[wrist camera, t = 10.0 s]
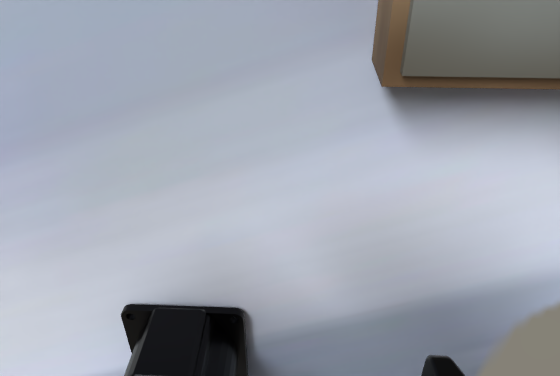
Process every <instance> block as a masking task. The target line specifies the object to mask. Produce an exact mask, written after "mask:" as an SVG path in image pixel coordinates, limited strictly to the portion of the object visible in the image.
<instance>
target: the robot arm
mask: <svg viewBox="0 0 560 376" xmlns="http://www.w3.org/2000/svg"><path fill="white" fill-rule="evenodd" d="M121 317H122V321H123V324H124V328H125V331H126V335H127V338H128V342H129V345H130V349H131V352H132V355H131V358H130V361H129V364H128V366H127V369H126V372H125V375H124V376H248V365H247V349H246V334H245V319H244V312H243V311H242V310H240V309H238V308H224V307H194V306H165V305H135V304H130V305H126V306H125V307H124V309H123V311H122V313H121ZM235 317H236V318H235ZM421 376H465V375H464V374H463V372H462V371H461V370H460V369H459V367H458V366H457V365H456V364H455V362H454V361H453V360H452V359H451V358H450V357H448V356H440V355H429V356H428V357H427V358H426V361H425V364H424V368H423V371H422V375H421Z"/></svg>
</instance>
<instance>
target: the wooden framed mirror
mask: <svg viewBox="0 0 560 376" xmlns="http://www.w3.org/2000/svg"><path fill="white" fill-rule="evenodd" d="M372 62H373V64H374V67H375V70H376V72H377V75H378V78H379V80H380V83H381V86H382V87H442V88H505V89H560V0H378V9H377V18H376V27H375V36H374V45H373V54H372Z"/></svg>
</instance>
